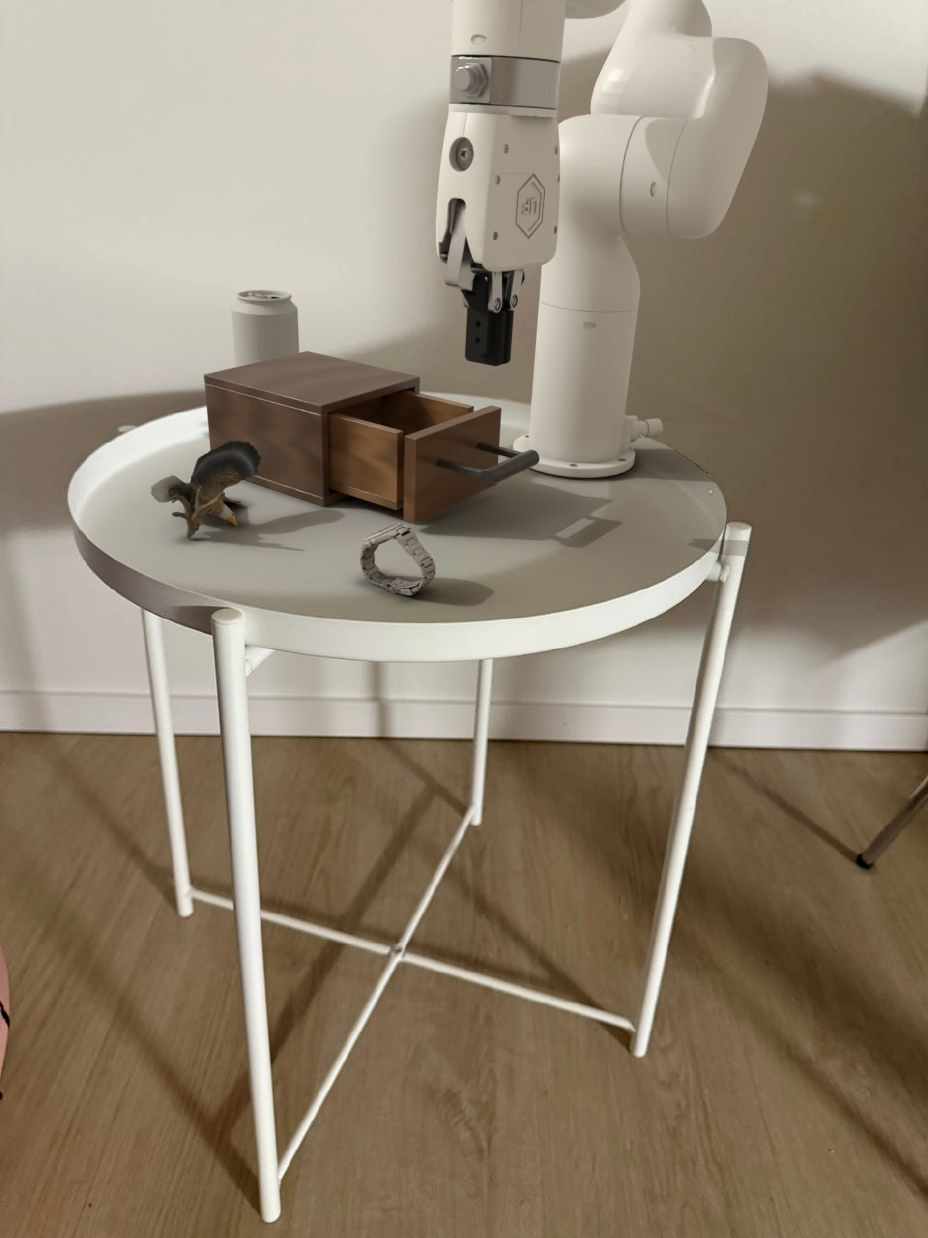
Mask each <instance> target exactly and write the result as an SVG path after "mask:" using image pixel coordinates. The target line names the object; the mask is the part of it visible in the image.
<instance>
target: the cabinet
mask: <svg viewBox="0 0 928 1238" xmlns="http://www.w3.org/2000/svg"><path fill="white" fill-rule="evenodd" d="M203 383H204V392H205V393H204V394H205V403H206V404H205V405H206V414H207V416H206V417H207V426H208V441H209V451H210V450H213V449H215V448H217V447H218V446H221V445H222V444H224V443H225V442H229V441H234V440H235V441H238V440H239V441H244V442H249V443H250V445H253V446H254V448H255V449H257V450H258V455H260V456H261V460H260V466H259V467H258V468H257V469H258V472H257V473H256V474H255V475H254V476H252V477H250V478H248V479H245V480H244V481H247V482H250V483H253V484H256V485H259V486H261V487H265V488H267V489H270V490H273V491H277V492H279V493H282V494H286V495H288V496H292V497H294V498H298V499H300V500H303V501H306V502H309V503H311V504H315V505H318V506H321V507H326V506H329V505H331V504H334V503H337V502H338V501H341V500H343V499H346V498H349V497H352V496H351V495H348V494H345V493H342V492H338V491H335V490H332V489H329V462H328V422H327V413H329V412H332V411H335V410H339V409H342V408H345V407H349V406H352V405H355V404H358V403H362V402H365V401H368V400H372V399H375V398H378V397H382V396H385V395H388V394H392V393H395V392H398V391H401V390H409V391H413V392H417V393H421V389H420V388H421V387H420V386H421V376H418V375H413V374H410V373H405V372H401V371H396V370H391V369H388V368H383V367H379V366H375V365H370V364H366V363H362V362H357V361H352V360H348V359H344V358H340V357H336V356H331V355H326V354H323V353H318V352H313V351H310V350H305V351H301V352H299V353H296V354H292V355H287V356H283V357H279V358H274V359H270V360H266V361H261V362H257V363H252V364H248V365H244V366H239V367H235V366H234V367H230V368H226V369H222V370H218V371H213V372H209V373H204V374H203Z"/></svg>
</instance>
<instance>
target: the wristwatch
mask: <svg viewBox="0 0 928 1238" xmlns="http://www.w3.org/2000/svg"><path fill="white" fill-rule="evenodd" d="M391 540H396V542H397V543H398V544H399V545H400V546H401V547H402V548H403V550H404V551H405V552H406V554H407V555H409V556H410V557H411V558H412V560H413V561H414V562H415V563H416V565H417V566H418V567H419V570H420V575H421V579H420V580H419V579H418V580H409V579H404V578H403V577H402V576H395V577H390V576H388V575H386V574H385V573H384V572H382V571H381V570H380V569H379V567H378V566H377V563H376V553H375V552H376V551H377V550H378V548H379V546H380V545H382V544H385V543H386V542H389V541H391ZM435 563H436V562H435V561H434V559H433V557H432V556H431V554H430V553H429V552H428V551H427V550H426V549H425V547H424V546H423V544H422V543H421V542H420V541H419V539H418V537H417V535H416V533H415V531H414V530H413V529H412V527H410V526H409V525H407V524H404V523H402V522H398V523H394V524H392V525H390V526H387V527H385V528H382V529H381V530H378V531H377V532H375V533H372V534H370V535H368V536H366V537H365V538H364V539H363V542H362V544H361V551H360V554H359V565H360V568H361V570H362V574H363V576H364V578H365V579H366V581H367V582H368V583H369V584H370V585H372V586H375V587H378V588H381V589H383V590H385V591H388V592H390V593H391V594H395V595H396V594H397V595H400V596H408V597H409V596H413V595H416V594H417V593H418V592H419V591H423V590H424V589H425V588H426V587H428V586H429V585H430V584H431V582H433V580H434V579H435V576H436V564H435Z"/></svg>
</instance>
